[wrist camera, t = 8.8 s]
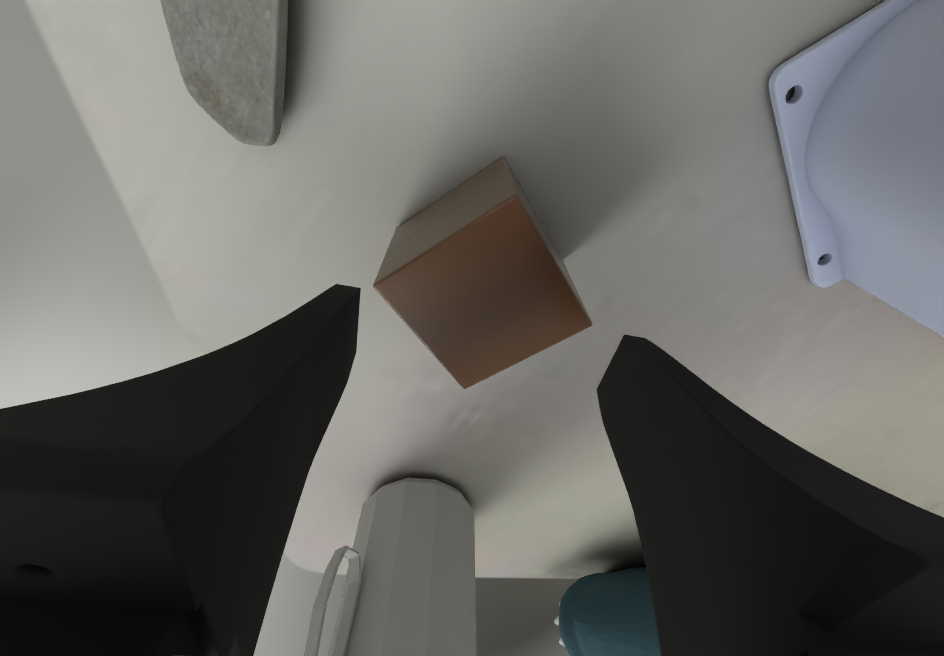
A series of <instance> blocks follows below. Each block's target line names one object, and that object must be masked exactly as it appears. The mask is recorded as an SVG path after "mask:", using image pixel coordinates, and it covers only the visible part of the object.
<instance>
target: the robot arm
mask: <svg viewBox="0 0 944 656" xmlns="http://www.w3.org/2000/svg"><path fill="white" fill-rule="evenodd" d="M793 86H794V88H795V93H794V95H793V97H792V98H791V99H790V100H789V101H786V94H787V92H788V90H789V89H791V88H792V87H793ZM769 93H770V97H771V102H772V107H773V111H774V116H775V121H776V125H777V130H778V135H779V139H780V144H781V148H782V153H783V158H784V162H785V167H786V172H787V176H788V181H789V186H790V190H791V195H792V199H793V204H794V209H795V213H796V218H797V223H798V227H799V232H800V237H801V241H802V246H803V250H804V255H805V260H806V264H807V269H808V274H809V278H810V281H811V283H812V284H814V285H815V286H817V287H819V288H825V287H829V286H831V285H833V284H835V283H838V282H840V281H842V280H844V279H846V280H847V281H849V282H851V283H852V284H854V285H856V286H858V287H859V288H861V289H863V290H864V291H866V292H868V293H869V294H871V295H873V296H874V297H876V298H878V299H880V300H881V301H883V302H885V303H886V304H888V305H890V306H891V307H893V308H895V309H896V310H898V311H900V312H901V313H903V314H905V315H907V316H908V317H910V318H912V319H913V320H915V321H917V322H918V323H920V324H922V325H923V326H925V327H927V328H929V329H930V330H932V331H934V332H935V333H937V334H939V335H940V336H942V337H944V0H886V1H884V2H882V3H881V4H879V5H877V6H876V7H874V8H873V9H871V10H869V11H868V12H866V13H864V14H863V15H861V16H859V17H858V18H856V19H855V20H853V21H851V22H850V23H848V24H846V25H845V26H843V27H841V28H840V29H838V30H837V31H835V32H833V33H832V34H830V35H828V36H827V37H825V38H823V39H822V40H820V41H819V42H817V43H815V44H814V45H812V46H810V47H809V48H807V49H805V50H804V51H802V52H801V53H799V54H797V55H796V56H794V57H792V58H791V59H789V60H787V61H786V62H784V63H783V64H781V65H780V66H779V67H777V68H776V69H775V71H774V72H773V73H772V75H771V77H770V80H769ZM824 254H825V255H824ZM822 255H824V257H823V258H822V259H821V260H819V258H820V257H821V256H822ZM818 260H819V261H818ZM360 289H361V288H356V287H351V286H345V285H339V284H336V285H334V286H332V287H331V288H329V289H328V290H326V291H324V292H323V293H321V294H320V295H318V296H317V297H315V298H314V299H312V300H311V301H309V302H307V303H306V304H304V305H303V306H301V307H300V308H298V309H296V310H295V311H293V312H292V313H290V314H288V315H287V316H285V317H283V318H281V319H279V320H278V321H276V322H274V323H272V324H270V325H268V326H267V327H265V328H263V329H261V330H259V331H257V332H255V333H254V334H252V335H250V336H247V337H245V338H243V339H241V340H239V341H237V342H235V343H232V344H230V345H228V346H225V347H223V348H221V349H218V350H216V351H213V352H211V353H208V354H206V355H203V356H201V357H198V358H195V359H192V360H189V361H186V362H184V363H180V364H177V365H175V366H172V367H169V368H166V369H163V370H160V371H157V372H154V373H151V374H147V375H144V376H141V377H137V378H133V379H130V380H127V381H123V382H119V383H115V384H111V385H108V386H104V387H100V388H96V389H92V390H88V391H84V392H79V393H75V394H71V395H66V396H61V397H57V398H52V399H47V400H42V401H37V402H32V403H28V404H23V405H18V406H13V407H8V408H3V409H0V656H253V655H254V651H255V647H256V644H257V640H258V636H259V633H260V630H261V626H262V623H263V619H264V615H265V612H266V608H267V605H268V601H269V598H270V595H271V591H272V588H273V585H274V581H275V578H276V574H277V571H278V568H279V564H280V561H281V558H282V554H283V551H284V548H285V544H286V541H287V538H288V535H289V532H290V528H291V525H292V522H293V519H294V516H295V512H296V509H297V506H298V503H299V500H300V497H301V494H302V491H303V488H304V485H305V481H306V478H307V475H308V472H309V469H310V467H311V464H312V462H313V459H314V457H315V454H316V452H317V450H318V447H319V445H320V443H321V441H322V438H323V436H324V434H325V432H326V430H327V427H328V425H329V423H330V421H331V418H332V416H333V414H334V412H335V409H336V407H337V405H338V403H339V400H340V398H341V396H342V393H343V391H344V389H345V387H346V384H347V381H348V378H349V375H350V371H351V368H352V364H353V361H354V357H355V354H356V346H357V332H358V318H359V303H360ZM597 394H598V400H599V406H600V411H601V416H602V420H603V424H604V427H605V430H606V433H607V436H608V438H609V441H610V444H611V447H612V450H613V453H614V456H615V458H616V461H617V464H618V467H619V470H620V472H621V475H622V478H623V481H624V483H625V486H626V489H627V492H628V495H629V498H630V501H631V505H632V508H633V511H634V516H635V520H636V524H637V528H638V532H639V537H640V541H641V545H642V550H643V554H644V559H645V564H646V569H647V574H648V579H649V584H650V589H651V595H652V601H653V607H654V613H655V619H656V625H657V631H658V638H659V646H660V654H661V656H944V518H943V517H941V516H938V515H936V514H934V513H931V512H929V511H927V510H924V509H922V508H920V507H917V506H915V505H913V504H911V503H908V502H906V501H904V500H902V499H900V498H898V497H896V496H894V495H892V494H889V493H887V492H885V491H883V490H881V489H879V488H877V487H875V486H873V485H870V484H868V483H867V482H865V481H863V480H861V479H859V478H857V477H855V476H853V475H851V474H849V473H847V472H845V471H843V470H841V469H839V468H837V467H836V466H834V465H832V464H830V463H828V462H826V461H825V460H823V459H821V458H819V457H817V456H815V455H814V454H812V453H810V452H808V451H806V450H805V449H803V448H801V447H800V446H798V445H796V444H794V443H793V442H791V441H789V440H788V439H786V438H785V437H783V436H781V435H780V434H778V433H777V432H775V431H773V430H772V429H770V428H769V427H767V426H765V425H764V424H762V423H761V422H759V421H758V420H756V419H755V418H753V417H752V416H750V415H749V414H747V413H746V412H745V411H743V410H742V409H740V408H739V407H738V406H736V405H735V404H733V403H732V402H731V401H729V400H728V399H726V398H725V397H724V396H722V395H721V394H720V393H718V392H717V391H716V390H714V389H713V388H712V387H710V386H709V385H708V384H706V383H705V382H704V381H702V380H701V379H700V378H699V377H697V376H696V375H695V374H693V373H692V372H691V371H690V370H688V369H687V368H686V367H684V366H683V365H682V364H681V363H679V362H678V361H677V360H675V359H674V358H673V357H672V356H670V355H669V354H668V353H666V352H665V351H663V350H662V349H661V348H659V347H658V346H657V345H655V344H654V343H652V342H650V341H649V340H647V339H645V338H641V337H635V336H630V335H624V336H623V338H622V340H621V342H620V344H619V346H618V348H617V350H616V352H615V354H614V356H613V358H612V360H611V362H610V364H609V366H608V368H607V370H606V372H605V374H604V376H603V378H602V380H601V382H600V384H599V386H598V388H597Z"/></svg>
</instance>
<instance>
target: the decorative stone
mask: <svg viewBox="0 0 944 656" xmlns="http://www.w3.org/2000/svg"><path fill="white" fill-rule="evenodd" d="M161 4H162V8H163V12H164V16H165V20H166V24H167V27H168V31H169V34H170V38H171V42H172V45H173V49H174V52H175V56H176V59H177V62H178V65H179V68H180V72H181V75H182V78H183V81H184V83H185V85H186V87H187V90H188V92H189V93H190V95H191V96H192V97H193V99H194V100H195V101H196V103H197V104H198V105H199V106H201V107H202V108H203V109H204V110H205V111H206V112H207V114H208V115H210V116H211V117H212V118H213V119H214V120H215V121H216V122H217V123H219V124H220V125H221V126H222V127H223V128H224V129H225V130H226V131H227V132H228V133H229V134H231V135H232V136H233V137H234V138H236V139H237V140H239V141H240V142H243V143H246V144H250V145H257V146H270V145H272V144H274V143H275V142H276V141H277V138H278V136H279V134H280V128H281V121H282V112H283V101H284V87H285V71H286V45H287V19H288V0H161Z"/></svg>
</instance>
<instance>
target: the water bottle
mask: <svg viewBox="0 0 944 656" xmlns="http://www.w3.org/2000/svg"><path fill="white" fill-rule="evenodd" d="M343 557H346V558H348V559H349V567H348V571H347V576H346V580H345V584H344V589H343V593H342V597H341V602H340V606H339V610H338V615H337V619H336V623H335V627H334V632H333V636H332V640H331V645H330V649H329V653H328V656H476V612H475V611H476V609H475V608H476V607H475V535H474V511H473V509H472V508H471V507H470V505H469V504H468V502H467V501H466V499H465V498H464V497H463V495H462V494H461V492H460V491H459V490H458V489H455V488H453V487H451V486H449V485H447V484H445V483H442V482H440V481H438V480H434V479H421V478H405V479H402V480H399V481H396V482H393V483H389V484H386V485H383V486H382V487H381V488H379V489H378V490H377V491H376V492H375V493H374V494H373V495H372V496H371V497H370V498H369V499H368V500H367V501H366V502H365V503H364V504H363V507H362V511H361V515H360V520H359V524H358V528H357V533H356V537H355V541H354V545H353V549H351V548H349V547H347V546H344V547H342V548H340V549H337V550H336V551H335V553H334V555H333V557H332V559H331V561H330V562H329V564H328V566H327V568H326V570H325V573H324V576H323V579H322V582H321V585H320V588H319V591H318V594H317V597H316V600H315V603H314V606H313V611H312V616H311V622H310V627H309V632H308V637H307V642H306V647H305V653H304V656H318V651H319V645H320V639H321V633H322V628H323V623H324V617H325V611H326V605H327V601H328V597H329V595H330V592H331V588H332V585H333V582H334V579H335V576H336V573H337V570H338V566H339V564H340V562H341V561H342V559H343Z"/></svg>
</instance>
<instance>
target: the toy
mask: <svg viewBox="0 0 944 656" xmlns="http://www.w3.org/2000/svg"><path fill="white" fill-rule="evenodd" d="M554 622H555V624H556V625H558V626H559V631H560V635H561V639H560V640H559V642H560V644H561V645H563V646H565V647H566V649H567V651H568V653H569V655H570V656H661V654H660V646H659V638H658V631H657V625H656V619H655V613H654V607H653V601H652V595H651V589H650V584H649V579H648V574H647V569H646V568H645V567H640V568H628V569H625V570H621V571H617V572H612V573H596V574H592V575H588V576H585V577H582V578H580V579H579V580H577V581H576V582H575V583H574V584H573V585H572V586H570V587H569V588H568V589H567V591H566V592H565V594H564V596H563V597H562V599H561V601H560V602H559V616H558V617H557V618H556V619H555V621H554Z"/></svg>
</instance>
